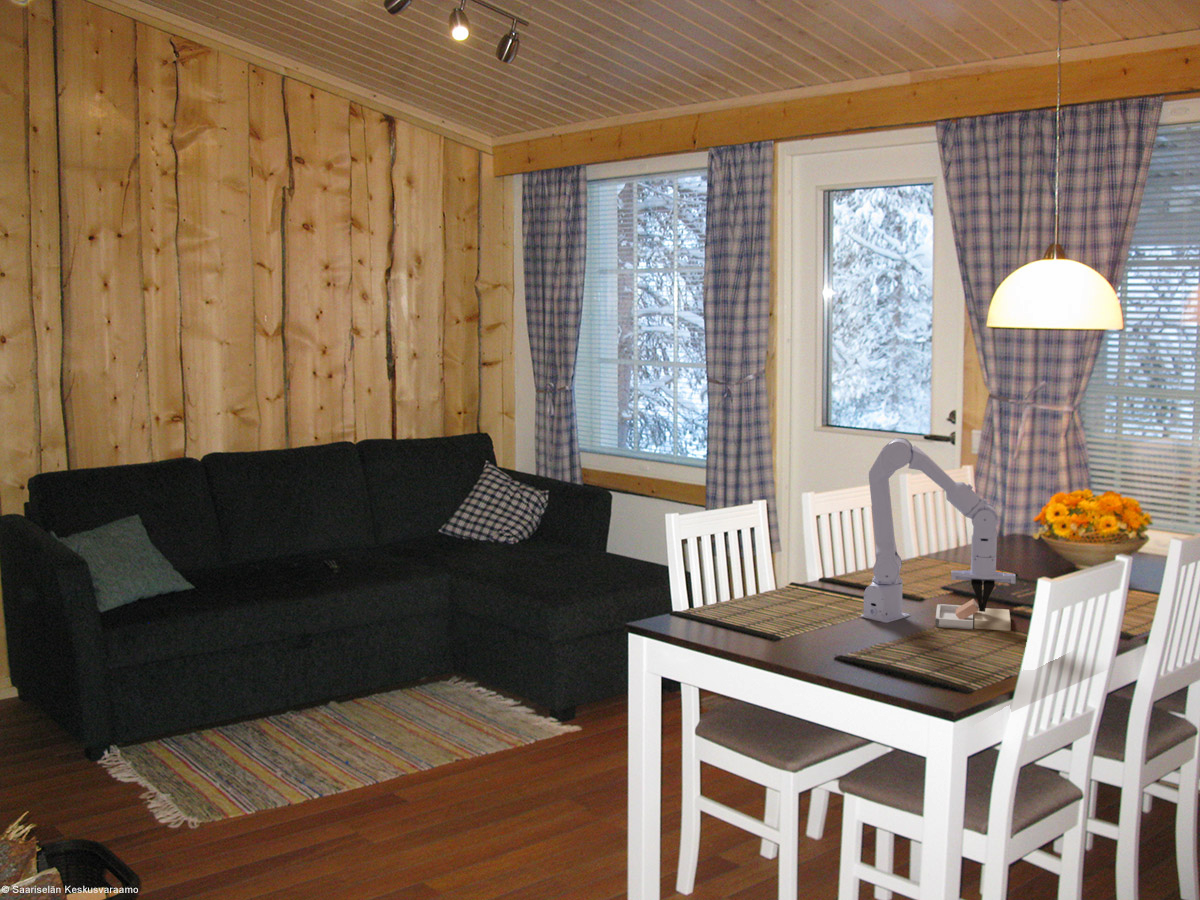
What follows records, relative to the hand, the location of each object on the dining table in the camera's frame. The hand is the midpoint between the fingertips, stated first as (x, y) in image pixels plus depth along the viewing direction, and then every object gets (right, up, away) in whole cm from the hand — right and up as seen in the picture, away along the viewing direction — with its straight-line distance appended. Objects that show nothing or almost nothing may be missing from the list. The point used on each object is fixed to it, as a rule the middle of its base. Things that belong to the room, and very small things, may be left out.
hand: (982, 610), depth 266 cm
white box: (+2, -3, 0) cm, 4 cm away
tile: (-3, -1, +1) cm, 3 cm away
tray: (-6, -3, +2) cm, 7 cm away
